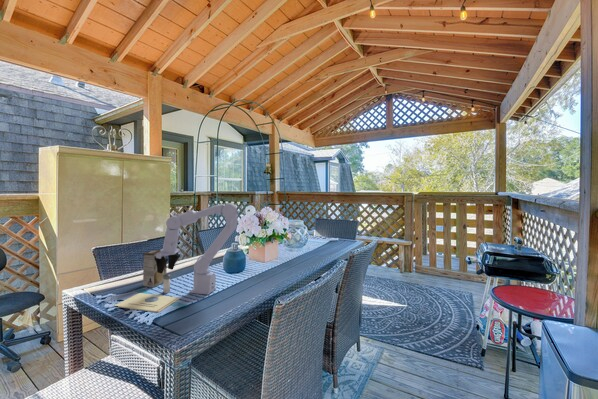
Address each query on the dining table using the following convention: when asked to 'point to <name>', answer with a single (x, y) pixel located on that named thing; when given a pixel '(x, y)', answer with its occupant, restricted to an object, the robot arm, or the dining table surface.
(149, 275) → the coffee box
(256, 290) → the dining table surface
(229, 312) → the dining table surface
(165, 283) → the marker
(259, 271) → the dining table surface
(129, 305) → the writing pad
